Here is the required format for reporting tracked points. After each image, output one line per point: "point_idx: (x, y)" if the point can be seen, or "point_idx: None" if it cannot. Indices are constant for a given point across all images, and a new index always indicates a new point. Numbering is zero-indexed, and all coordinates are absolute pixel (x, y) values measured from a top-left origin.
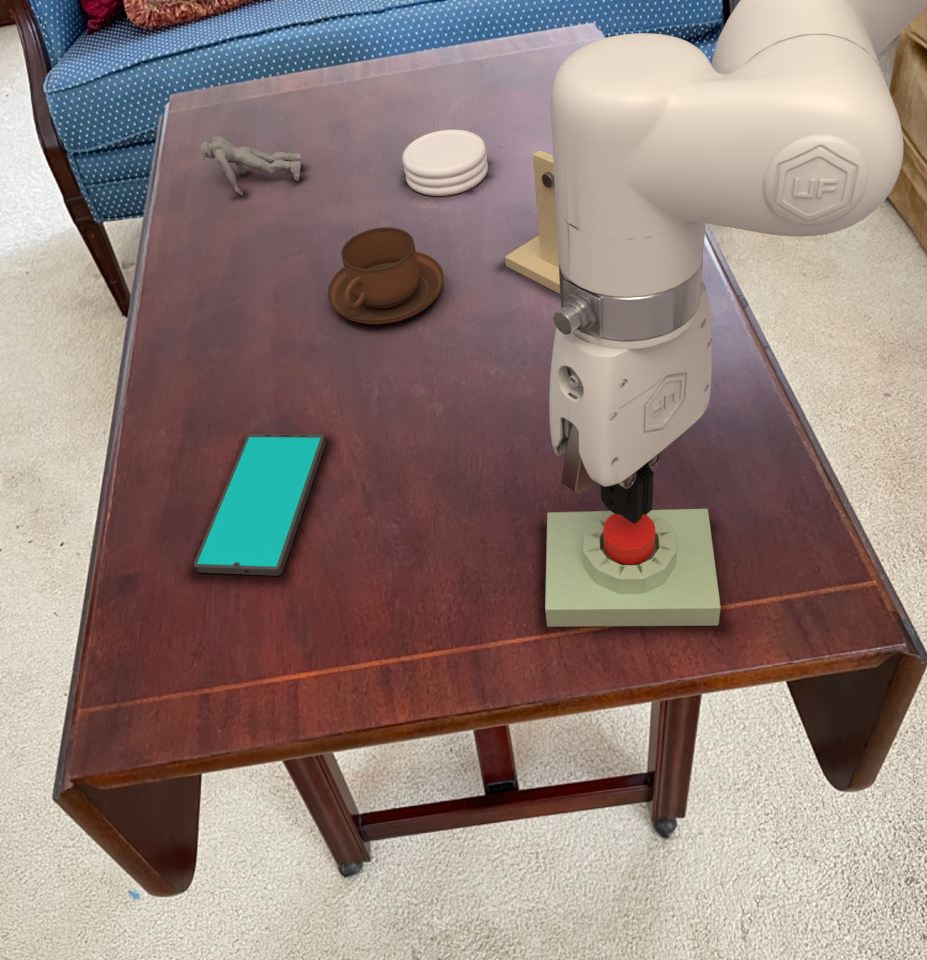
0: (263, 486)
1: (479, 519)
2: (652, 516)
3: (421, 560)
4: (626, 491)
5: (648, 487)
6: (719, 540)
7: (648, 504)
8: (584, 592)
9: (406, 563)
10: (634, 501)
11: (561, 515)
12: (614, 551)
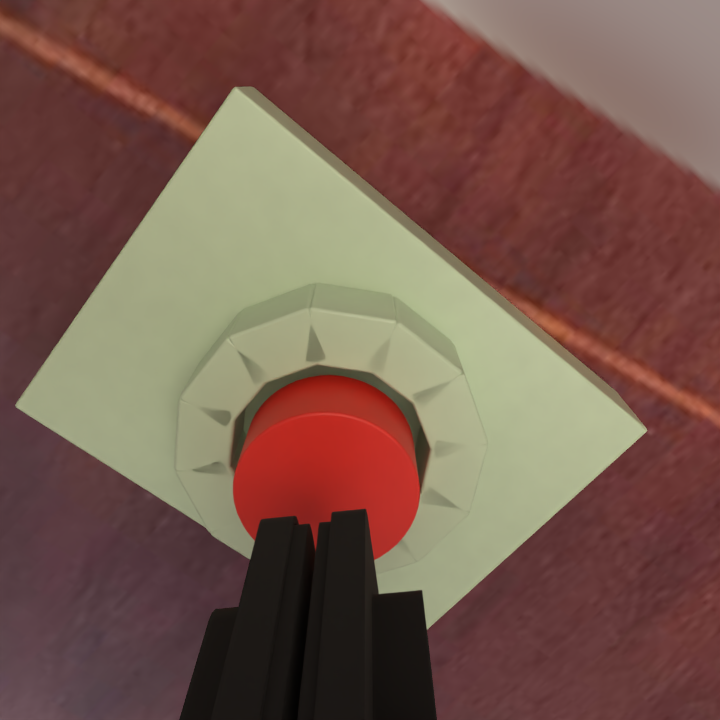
0: None
1: (499, 704)
2: (199, 485)
3: (678, 695)
4: (385, 702)
5: (265, 656)
6: (48, 313)
7: (281, 556)
8: (522, 406)
9: (708, 706)
10: (367, 622)
11: None
12: (415, 458)
